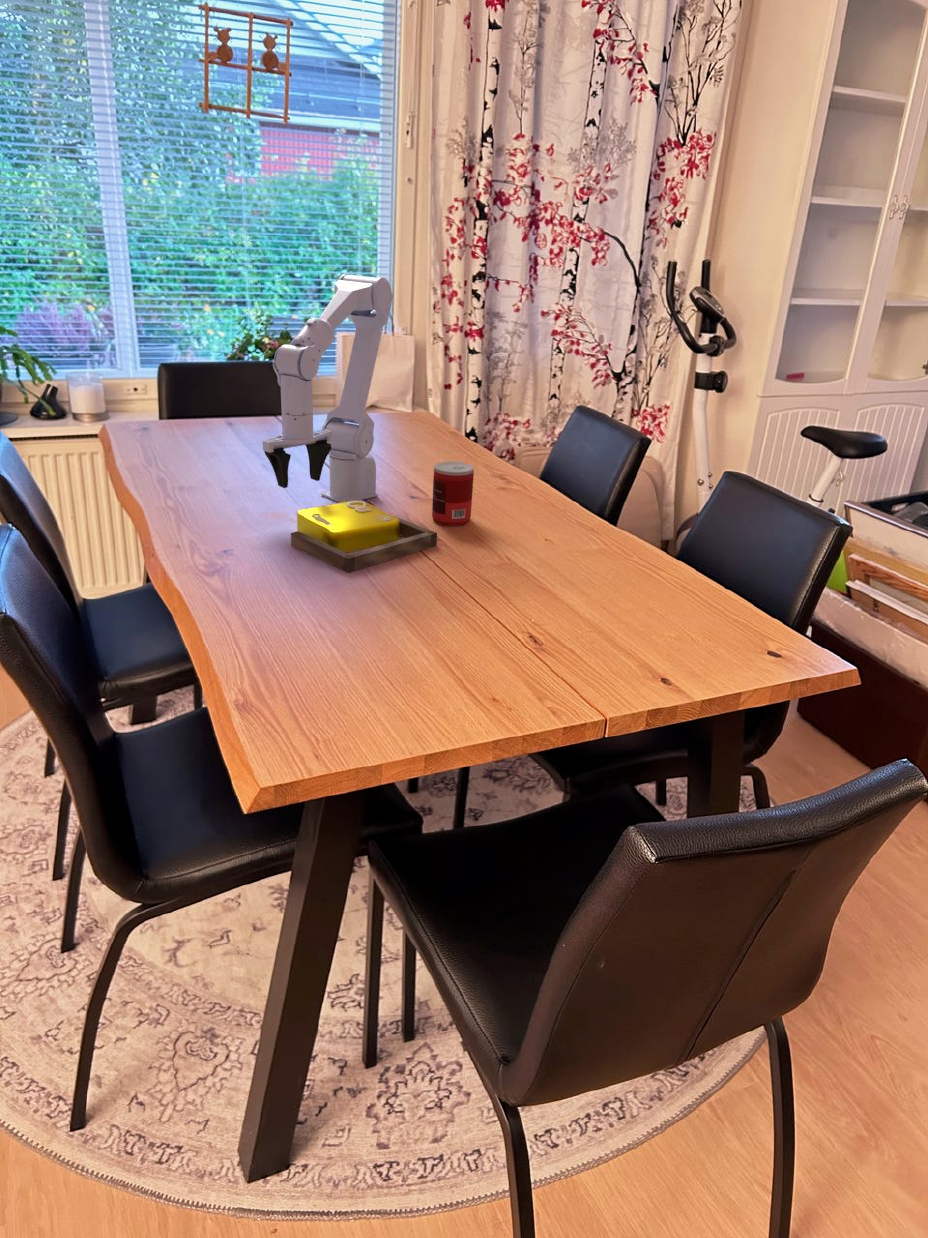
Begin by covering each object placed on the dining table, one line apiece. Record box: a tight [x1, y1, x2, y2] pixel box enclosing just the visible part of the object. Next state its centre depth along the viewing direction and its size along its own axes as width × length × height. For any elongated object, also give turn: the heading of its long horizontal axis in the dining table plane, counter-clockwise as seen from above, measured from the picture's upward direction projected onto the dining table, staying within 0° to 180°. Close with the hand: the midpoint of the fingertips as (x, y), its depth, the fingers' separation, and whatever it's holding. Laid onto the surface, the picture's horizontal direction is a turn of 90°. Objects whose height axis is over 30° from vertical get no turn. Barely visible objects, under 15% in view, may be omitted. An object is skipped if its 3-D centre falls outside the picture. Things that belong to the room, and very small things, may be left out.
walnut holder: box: [290, 515, 438, 573], centre depth 163 cm, size 21×16×2 cm
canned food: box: [431, 461, 475, 527], centre depth 176 cm, size 8×8×11 cm
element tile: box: [296, 500, 400, 553], centre depth 167 cm, size 15×15×5 cm
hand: (299, 482), depth 172 cm, fingers open, 7 cm apart
